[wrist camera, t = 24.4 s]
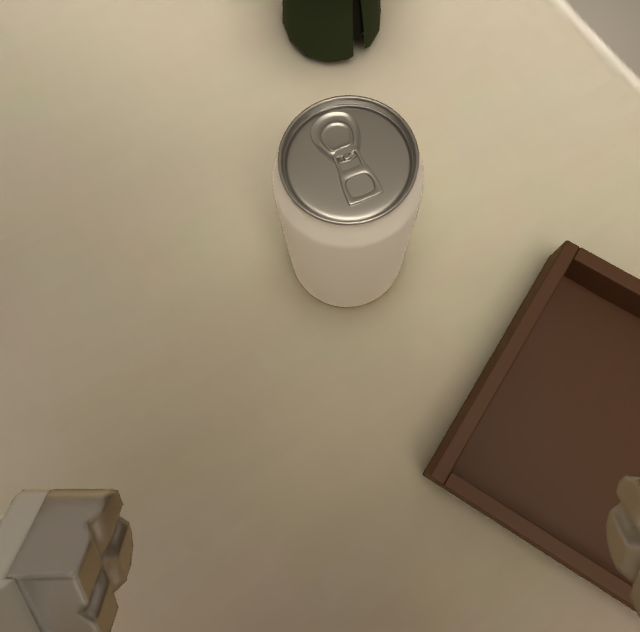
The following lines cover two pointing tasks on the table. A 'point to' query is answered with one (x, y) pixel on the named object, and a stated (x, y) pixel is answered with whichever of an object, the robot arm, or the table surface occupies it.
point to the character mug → (330, 25)
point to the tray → (556, 417)
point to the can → (348, 197)
